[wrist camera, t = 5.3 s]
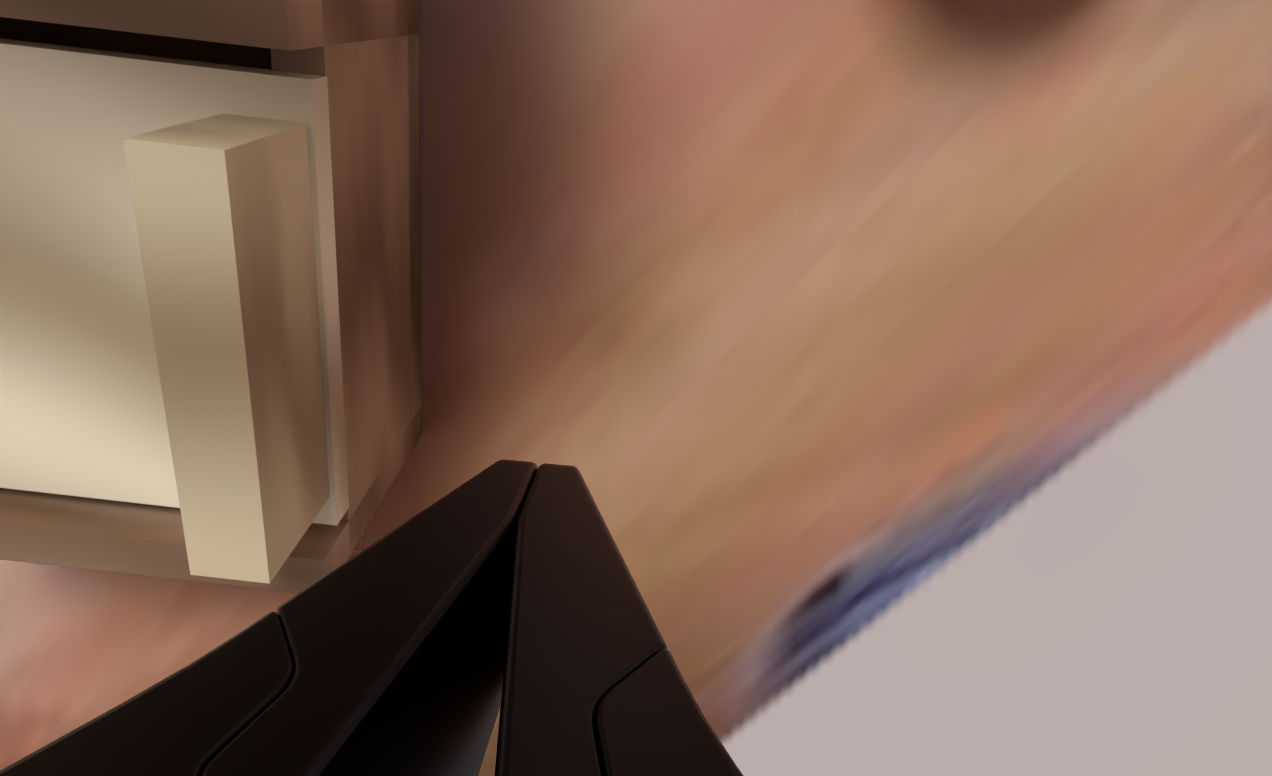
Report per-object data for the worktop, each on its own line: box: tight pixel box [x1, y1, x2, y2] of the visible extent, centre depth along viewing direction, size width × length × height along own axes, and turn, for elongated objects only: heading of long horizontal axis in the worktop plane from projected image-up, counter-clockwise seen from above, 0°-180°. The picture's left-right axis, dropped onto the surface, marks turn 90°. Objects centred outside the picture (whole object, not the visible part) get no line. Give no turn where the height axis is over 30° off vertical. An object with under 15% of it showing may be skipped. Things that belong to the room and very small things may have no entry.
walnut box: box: [0, 0, 422, 593], centre depth 16 cm, size 10×11×6 cm
